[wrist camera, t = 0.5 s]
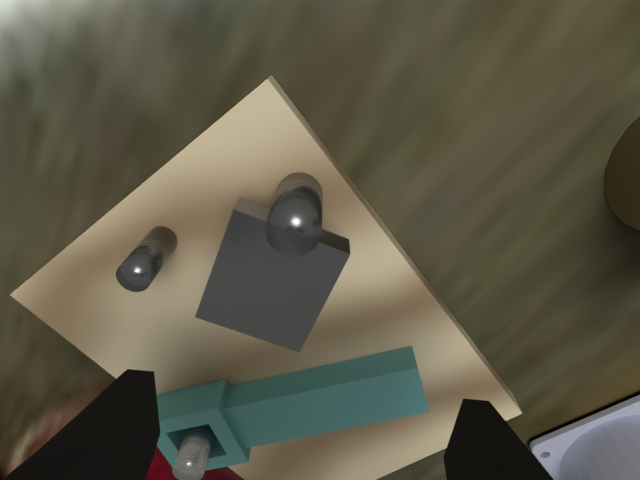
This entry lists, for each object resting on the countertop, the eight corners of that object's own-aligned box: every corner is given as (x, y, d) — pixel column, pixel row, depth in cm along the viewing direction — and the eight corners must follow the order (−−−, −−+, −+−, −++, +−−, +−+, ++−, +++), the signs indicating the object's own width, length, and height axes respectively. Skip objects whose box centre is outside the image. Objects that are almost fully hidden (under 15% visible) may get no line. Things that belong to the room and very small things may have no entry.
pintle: (225, 414, 22) (210, 474, 19) (206, 426, 23) (188, 486, 20) (207, 398, 22) (187, 457, 19) (187, 410, 22) (165, 470, 19)
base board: (513, 395, 23) (522, 413, 22) (293, 497, 27) (291, 517, 26) (271, 75, 16) (267, 78, 15) (26, 280, 20) (10, 294, 19)
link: (188, 444, 23) (178, 475, 22) (156, 395, 22) (142, 424, 20) (425, 396, 21) (433, 426, 20) (409, 337, 20) (416, 365, 18)
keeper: (304, 287, 20) (298, 355, 16) (155, 233, 19) (108, 291, 15) (354, 183, 18) (362, 231, 14) (188, 114, 17) (142, 143, 12)
